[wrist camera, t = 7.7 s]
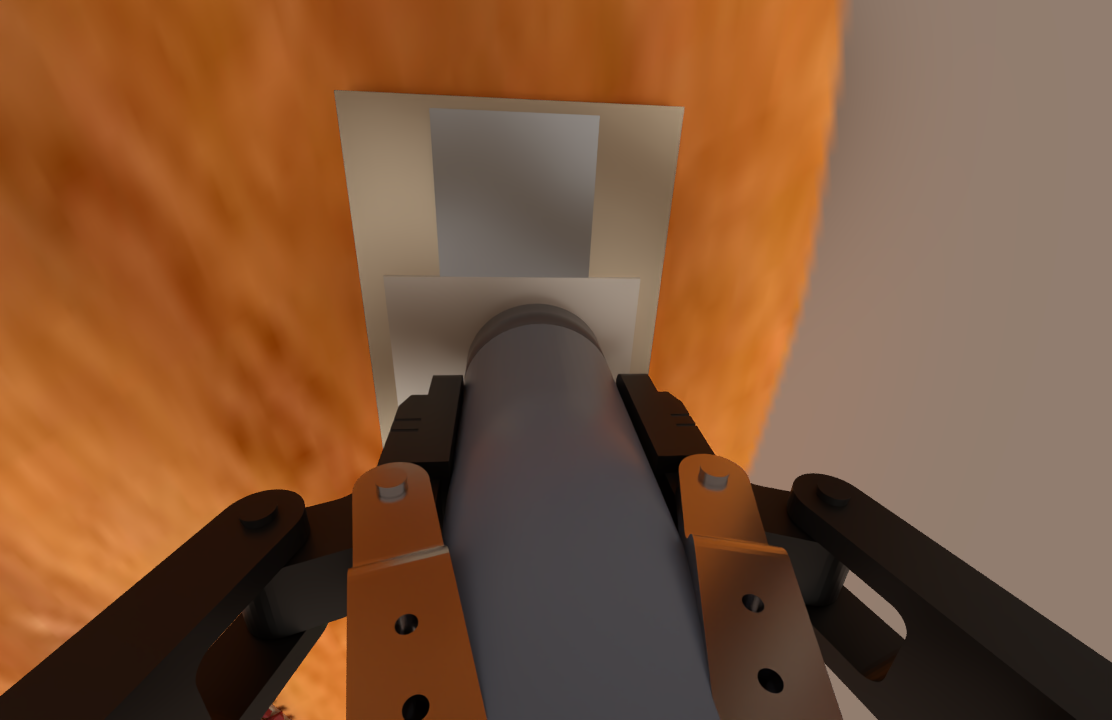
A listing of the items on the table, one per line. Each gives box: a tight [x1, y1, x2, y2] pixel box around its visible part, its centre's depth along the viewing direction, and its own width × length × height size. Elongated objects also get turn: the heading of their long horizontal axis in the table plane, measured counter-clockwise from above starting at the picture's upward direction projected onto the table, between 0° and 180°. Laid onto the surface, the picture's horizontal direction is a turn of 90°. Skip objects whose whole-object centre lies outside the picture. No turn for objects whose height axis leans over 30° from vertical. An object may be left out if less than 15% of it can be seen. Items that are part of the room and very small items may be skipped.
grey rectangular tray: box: [334, 90, 684, 448], centre depth 16 cm, size 17×9×4 cm, turn 178°
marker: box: [442, 304, 720, 720], centre depth 10 cm, size 4×4×11 cm
